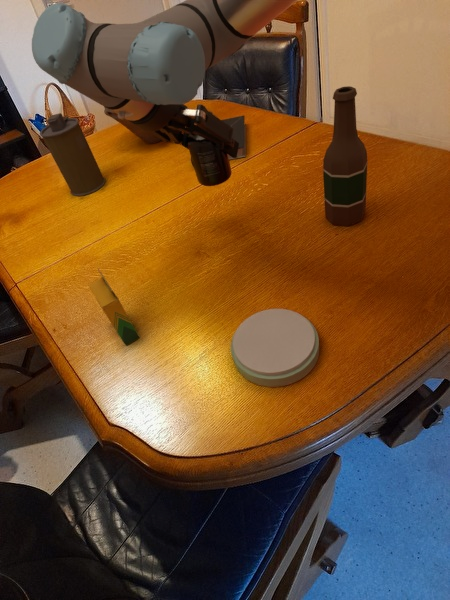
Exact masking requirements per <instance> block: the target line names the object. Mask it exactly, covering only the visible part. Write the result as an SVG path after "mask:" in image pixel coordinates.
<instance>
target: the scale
mask: <svg viewBox="0 0 450 600" xmlns="http://www.w3.org/2000/svg"><path fill="white" fill-rule="evenodd" d="M318 334H319V333H318V331H317V329H316V327H315V325H313V323H312V322H311V321H310V320H309V319H308V318H307V317H306V316H303V315H302V314H300V313H299V312H296V311H294V310H291V309H285V308H269V309H264V310H261V311H258V312H256V313H254V314H252V315H250V316H248V317H247V318H245V319H244V320H243V321H242V322H241V323H240V324H239V326H237V329H236V330H235V332H234V333H233V336H232V339H231V342H230V353H231V357H232V361H233V363H234V366H235V368H236V370H237V371H238V373H239V374H240V375H241V376H242V377H243V378H245V379H246V380H247V381H249V382H251V383H253V384H255V385H258V386H261V387H266V388H267V387H268V388H277V387H278V388H279V387H285V386H289V385H292V384H295V383H297V382H298V381H301V380H302V379H303V378H305V377H306V376H308V375H309V373H310V372H311V371H312V370H313V369H314V368H315V366H316V364H317V362H318V360H319V357H320V340H319V339H320V338H319V335H318Z"/></svg>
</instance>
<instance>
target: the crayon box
mask: <svg viewBox="0 0 450 600" xmlns="http://www.w3.org/2000/svg"><path fill="white" fill-rule="evenodd" d="M97 271H98V272H99V274H100V275H101V277H99V278H98V279H95V280H94V281H91V282H90V283H88V287H89V289H90V291H91V292H92V294H93V296H94V297H95V299H96V301H97V303H98V305H99V306H100V308H101V309H102V311H103V312H104V314H105V316H106V318H107V319H108V321H109V322H110V324H111V325H112V327H113V329H114V330H115V332H116V333H117V335H118V337H119V338H120V340H121V341H122V343H123V344H124V346H125V347H126V346H127V347H128V345H131V344H132V343H134V342H135V341H137V340H139V339H141V336H140V335H139V333H138V331H137V329H136V328H135V327H134V324H133V322H132V321H131V319H130V317H129V315H128V314H127V312H126V310H125V308H124V306H123V305H122V303H121V301H120V300H119V297H118V296H117V295H116V293H115V292H114V290H113V289H112V288H111V286H110V284H109V283H108V281H107V279H106V278H105V276H104V275H103V273H102V272H101V270H100V269H99V268H97Z"/></svg>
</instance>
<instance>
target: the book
mask: <svg viewBox="0 0 450 600" xmlns="http://www.w3.org/2000/svg"><path fill="white" fill-rule="evenodd" d="M245 119H246V117H245V115H239V116H235V117H230V118H224V119H221V120H222V121H223V122H225V123H226V124H228V125H229V126H231V127H232V128H233V129H234V130H233V135H232V138H233V139H234V140H235V141H237V142H238V143H239V147H238V153H237V158H232V157H231V156H230V155H228V157H229V161H234V160H239V159H244V158H246V157H247V124H245V122H246V121H245ZM190 162H191V165H192V166H193V167H194V165H193V162H192V158H191V157H190Z"/></svg>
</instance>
